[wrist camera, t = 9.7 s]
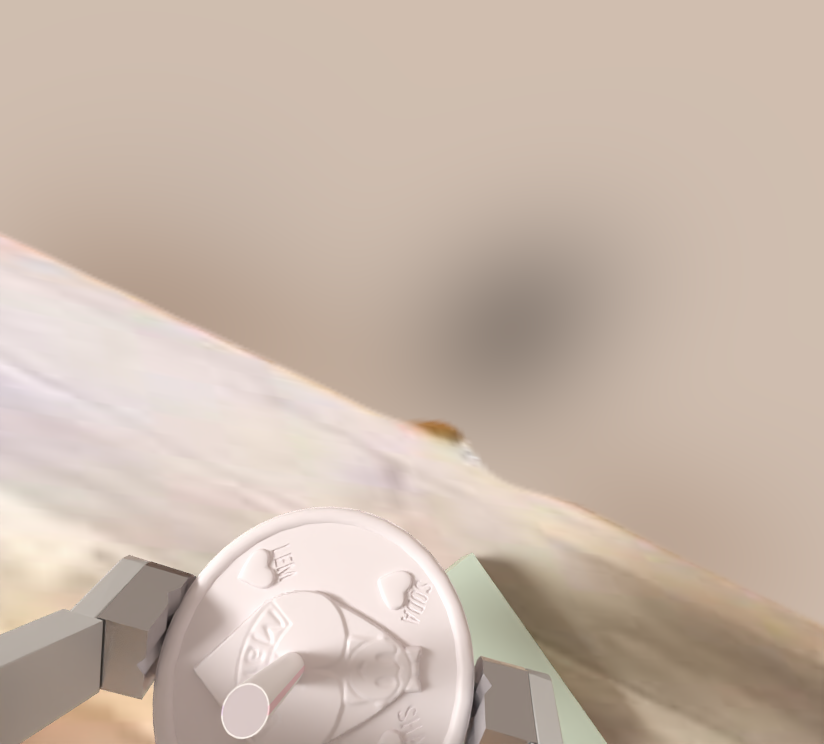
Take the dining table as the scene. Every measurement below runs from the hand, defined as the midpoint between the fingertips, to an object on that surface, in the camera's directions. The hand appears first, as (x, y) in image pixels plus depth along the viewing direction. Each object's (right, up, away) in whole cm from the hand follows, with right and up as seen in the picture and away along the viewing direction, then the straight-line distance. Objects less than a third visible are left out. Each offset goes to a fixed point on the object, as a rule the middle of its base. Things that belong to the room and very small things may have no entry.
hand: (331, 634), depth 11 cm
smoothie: (-1, -4, +8) cm, 9 cm away
